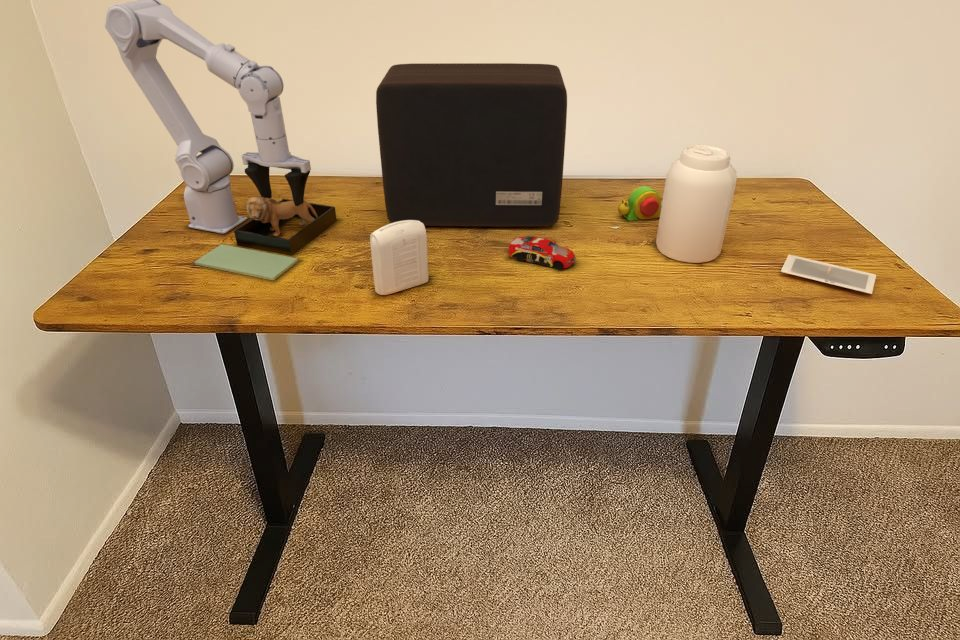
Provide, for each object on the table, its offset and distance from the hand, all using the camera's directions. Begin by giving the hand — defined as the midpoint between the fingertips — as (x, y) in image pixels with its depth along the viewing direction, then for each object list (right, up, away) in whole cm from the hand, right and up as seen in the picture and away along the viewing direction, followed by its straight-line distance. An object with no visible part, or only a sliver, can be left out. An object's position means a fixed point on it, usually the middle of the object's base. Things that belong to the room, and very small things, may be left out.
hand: (283, 201), depth 132 cm
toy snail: (+79, -1, +11) cm, 80 cm away
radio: (+39, 0, +12) cm, 41 cm away
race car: (+52, -13, -6) cm, 54 cm away
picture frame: (0, -6, +4) cm, 7 cm away
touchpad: (+103, -17, -13) cm, 106 cm away
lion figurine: (0, -6, +4) cm, 7 cm away
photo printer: (+26, -18, -14) cm, 35 cm away
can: (+81, -10, -3) cm, 82 cm away
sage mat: (-5, -13, -7) cm, 16 cm away
